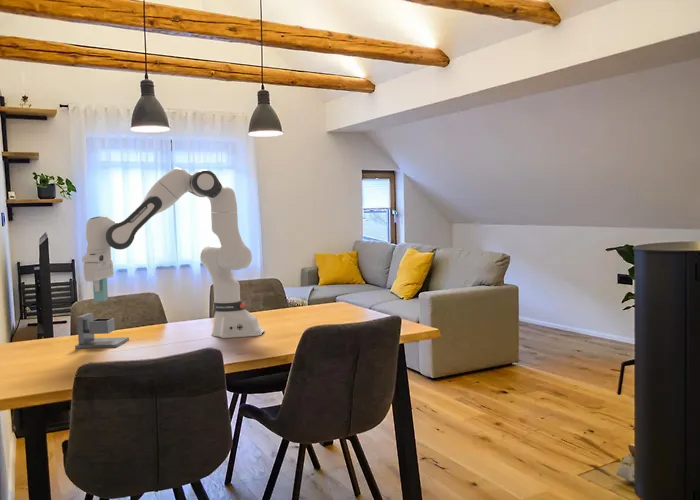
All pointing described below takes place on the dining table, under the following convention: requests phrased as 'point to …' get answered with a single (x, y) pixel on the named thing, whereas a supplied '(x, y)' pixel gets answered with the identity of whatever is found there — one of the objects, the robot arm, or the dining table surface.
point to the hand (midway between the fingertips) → (100, 290)
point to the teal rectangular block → (103, 293)
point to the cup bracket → (97, 332)
